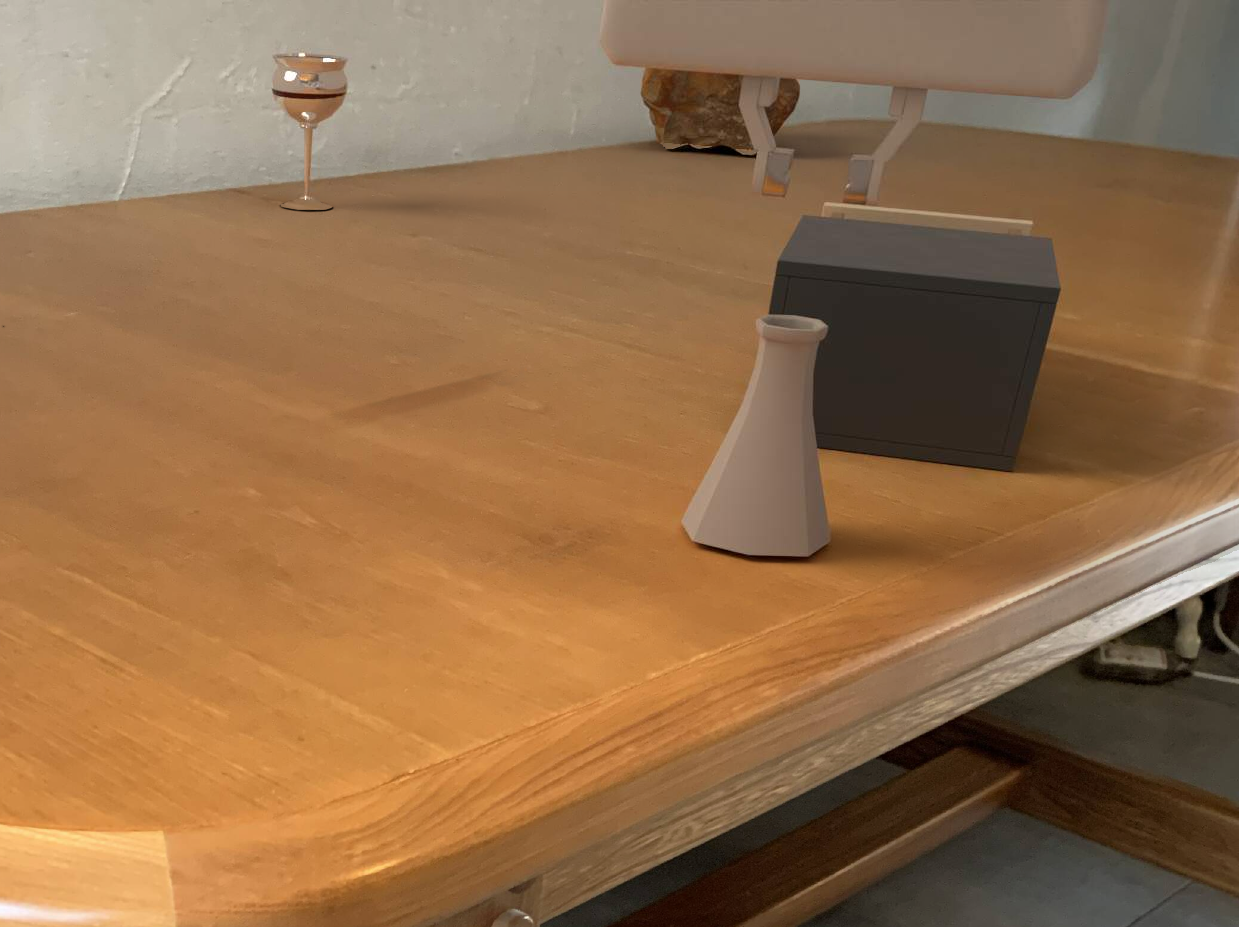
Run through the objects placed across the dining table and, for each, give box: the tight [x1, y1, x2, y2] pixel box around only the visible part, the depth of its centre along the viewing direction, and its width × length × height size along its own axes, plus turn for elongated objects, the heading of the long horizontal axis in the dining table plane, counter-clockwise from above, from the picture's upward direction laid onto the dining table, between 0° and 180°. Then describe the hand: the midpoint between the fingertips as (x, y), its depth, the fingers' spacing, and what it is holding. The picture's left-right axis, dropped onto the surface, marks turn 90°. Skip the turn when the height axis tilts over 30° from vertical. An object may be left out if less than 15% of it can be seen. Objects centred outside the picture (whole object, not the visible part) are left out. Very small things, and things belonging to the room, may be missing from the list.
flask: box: [680, 314, 832, 557], centre depth 79 cm, size 7×7×10 cm
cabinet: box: [767, 214, 1062, 473], centre depth 98 cm, size 16×15×10 cm
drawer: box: [821, 201, 1034, 236], centre depth 110 cm, size 19×13×8 cm
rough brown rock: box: [640, 68, 801, 150], centre depth 193 cm, size 23×17×15 cm
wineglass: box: [271, 52, 349, 200], centre depth 151 cm, size 7×7×12 cm
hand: (814, 198), depth 74 cm, fingers open, 3 cm apart
